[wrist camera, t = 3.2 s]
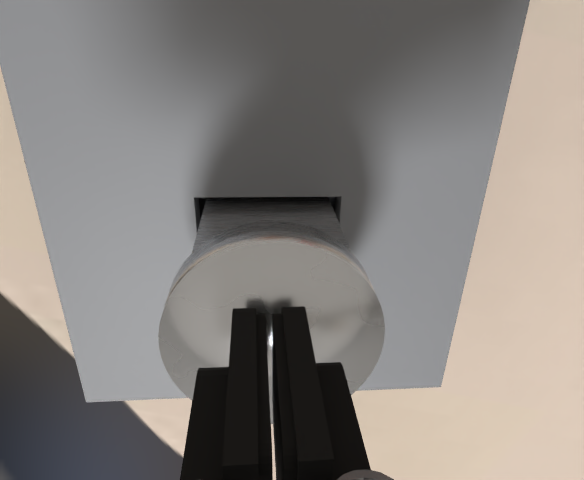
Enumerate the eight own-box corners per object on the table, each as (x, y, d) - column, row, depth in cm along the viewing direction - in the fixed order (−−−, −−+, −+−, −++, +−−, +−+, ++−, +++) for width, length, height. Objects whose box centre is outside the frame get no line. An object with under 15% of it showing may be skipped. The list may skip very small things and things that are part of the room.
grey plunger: (346, 163, 15) (398, 240, 10) (335, 296, 18) (373, 419, 12) (185, 163, 15) (144, 244, 9) (197, 300, 17) (170, 428, 12)
